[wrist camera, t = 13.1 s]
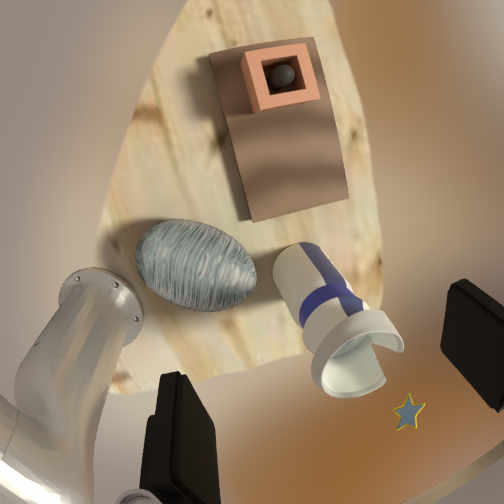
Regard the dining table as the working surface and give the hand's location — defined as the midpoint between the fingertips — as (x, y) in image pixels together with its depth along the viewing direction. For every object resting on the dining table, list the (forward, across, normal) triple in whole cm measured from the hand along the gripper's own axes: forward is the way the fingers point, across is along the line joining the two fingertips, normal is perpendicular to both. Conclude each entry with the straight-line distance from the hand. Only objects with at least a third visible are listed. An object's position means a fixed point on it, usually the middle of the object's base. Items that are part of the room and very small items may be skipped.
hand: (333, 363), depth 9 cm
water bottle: (+28, -5, +11) cm, 31 cm away
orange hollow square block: (+27, -6, -12) cm, 30 cm away
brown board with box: (+28, -6, -7) cm, 30 cm away
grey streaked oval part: (+29, +7, +5) cm, 30 cm away
